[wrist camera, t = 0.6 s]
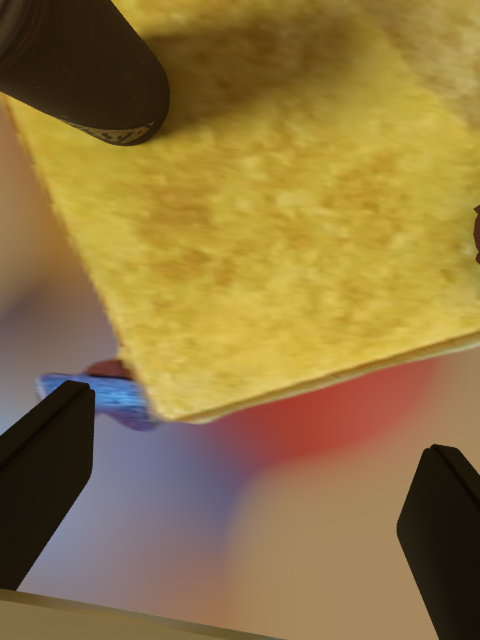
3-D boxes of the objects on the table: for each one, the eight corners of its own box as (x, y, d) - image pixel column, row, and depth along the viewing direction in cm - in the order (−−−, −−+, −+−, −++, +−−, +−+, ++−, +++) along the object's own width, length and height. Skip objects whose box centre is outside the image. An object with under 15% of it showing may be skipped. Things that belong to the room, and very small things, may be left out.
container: (54, 87, 32) (-271, -103, 12) (128, 10, 30) (-124, -357, 10) (118, 171, 33) (-80, 117, 14) (193, 104, 31) (78, -65, 12)
